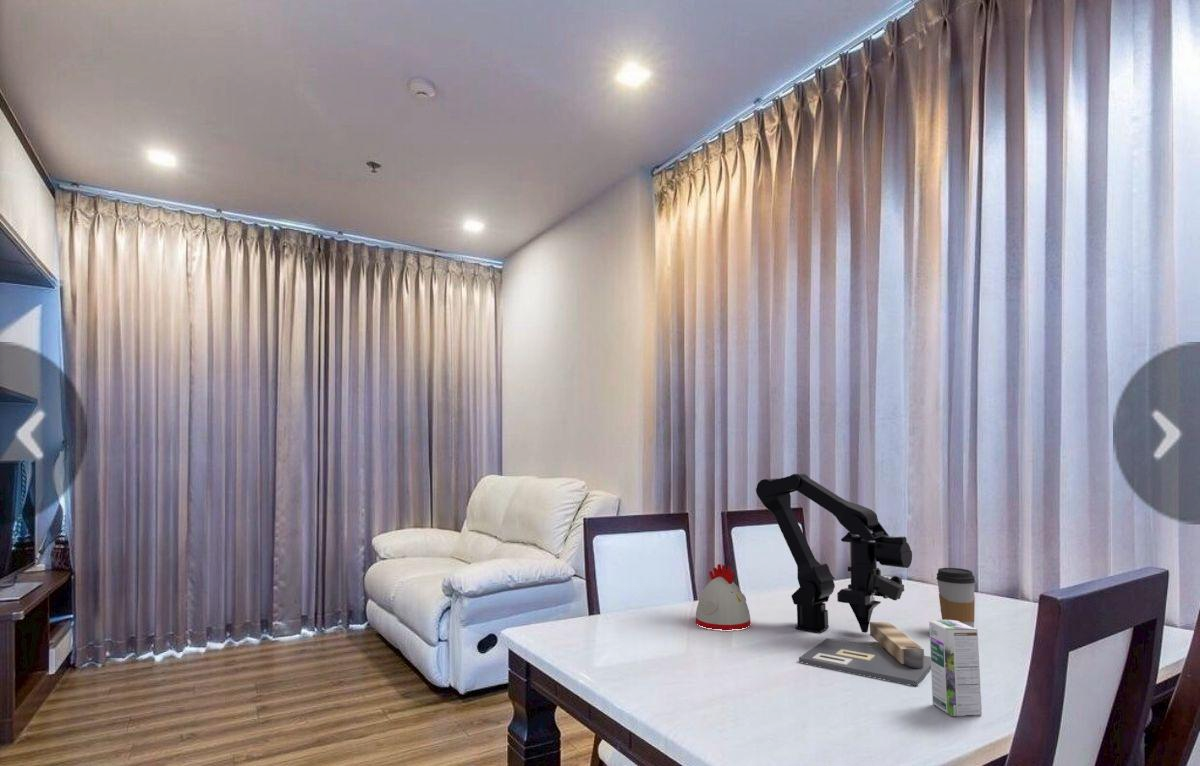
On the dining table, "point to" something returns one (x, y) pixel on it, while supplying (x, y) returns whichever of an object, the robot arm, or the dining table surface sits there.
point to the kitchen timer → (722, 603)
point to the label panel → (864, 661)
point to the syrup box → (955, 667)
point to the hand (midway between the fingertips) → (864, 632)
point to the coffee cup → (957, 595)
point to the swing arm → (897, 644)
